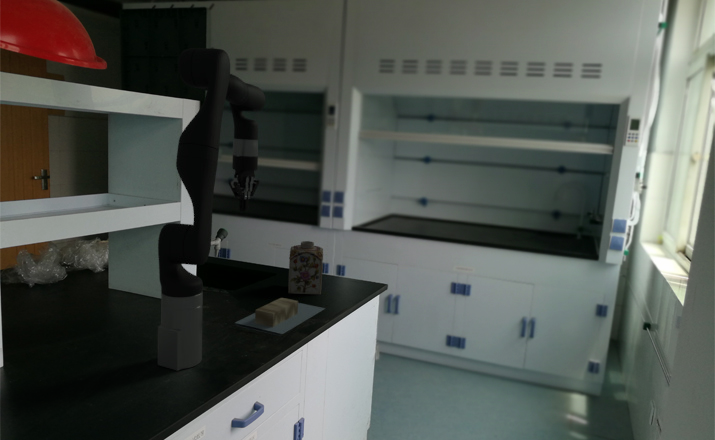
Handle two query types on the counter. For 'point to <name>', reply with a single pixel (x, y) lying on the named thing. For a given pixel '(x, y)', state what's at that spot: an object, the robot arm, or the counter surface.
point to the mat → (303, 314)
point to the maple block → (276, 312)
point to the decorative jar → (305, 268)
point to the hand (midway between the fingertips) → (243, 210)
